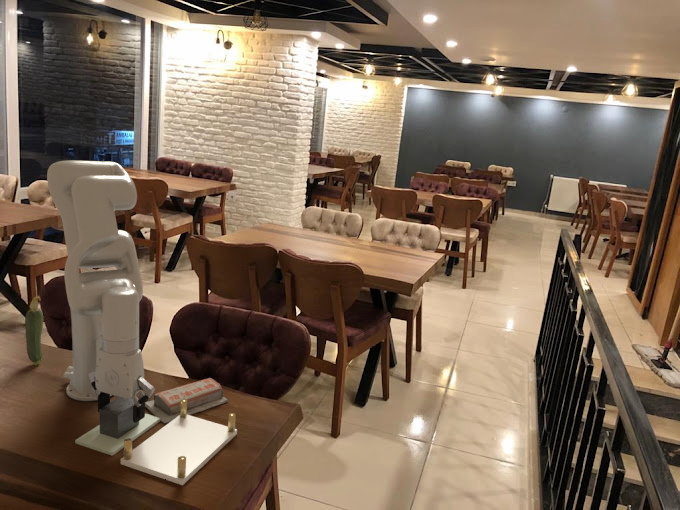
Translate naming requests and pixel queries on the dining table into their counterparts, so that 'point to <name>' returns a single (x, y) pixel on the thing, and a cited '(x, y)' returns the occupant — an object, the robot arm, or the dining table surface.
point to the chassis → (179, 447)
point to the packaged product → (196, 395)
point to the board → (113, 442)
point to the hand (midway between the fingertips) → (121, 414)
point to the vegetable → (34, 331)
